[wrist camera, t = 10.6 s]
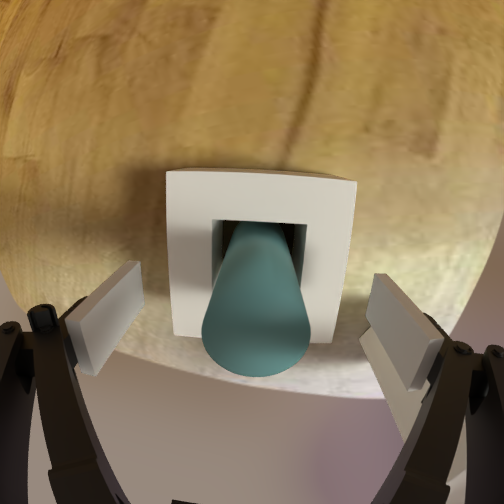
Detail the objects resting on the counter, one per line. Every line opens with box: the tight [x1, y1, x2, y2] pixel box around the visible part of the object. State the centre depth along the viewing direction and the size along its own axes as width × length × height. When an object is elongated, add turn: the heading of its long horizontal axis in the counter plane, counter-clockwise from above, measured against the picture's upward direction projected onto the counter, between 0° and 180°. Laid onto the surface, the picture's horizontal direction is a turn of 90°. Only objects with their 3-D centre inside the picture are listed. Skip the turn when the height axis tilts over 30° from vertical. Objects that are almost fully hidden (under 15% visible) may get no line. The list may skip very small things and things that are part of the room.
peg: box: [201, 221, 311, 377], centre depth 18 cm, size 4×4×14 cm
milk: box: [359, 327, 467, 504], centre depth 17 cm, size 6×6×22 cm
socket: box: [166, 168, 357, 343], centre depth 22 cm, size 12×12×6 cm
